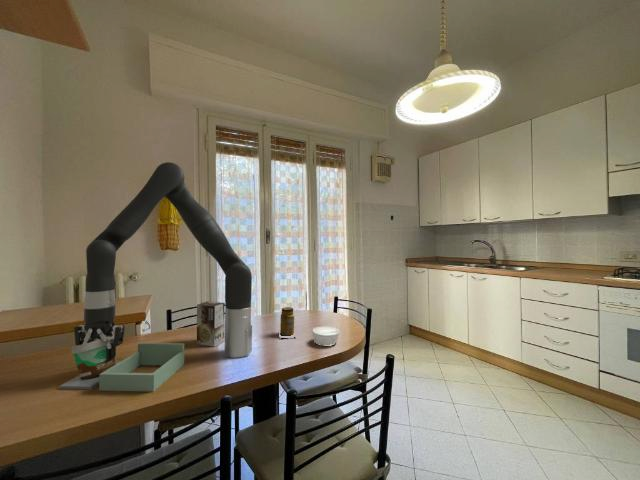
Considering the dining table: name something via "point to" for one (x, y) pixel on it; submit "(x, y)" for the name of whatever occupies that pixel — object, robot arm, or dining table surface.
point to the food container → (92, 358)
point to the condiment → (287, 322)
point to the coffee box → (210, 323)
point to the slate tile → (82, 383)
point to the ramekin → (325, 335)
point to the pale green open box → (146, 355)
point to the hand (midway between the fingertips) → (99, 359)
